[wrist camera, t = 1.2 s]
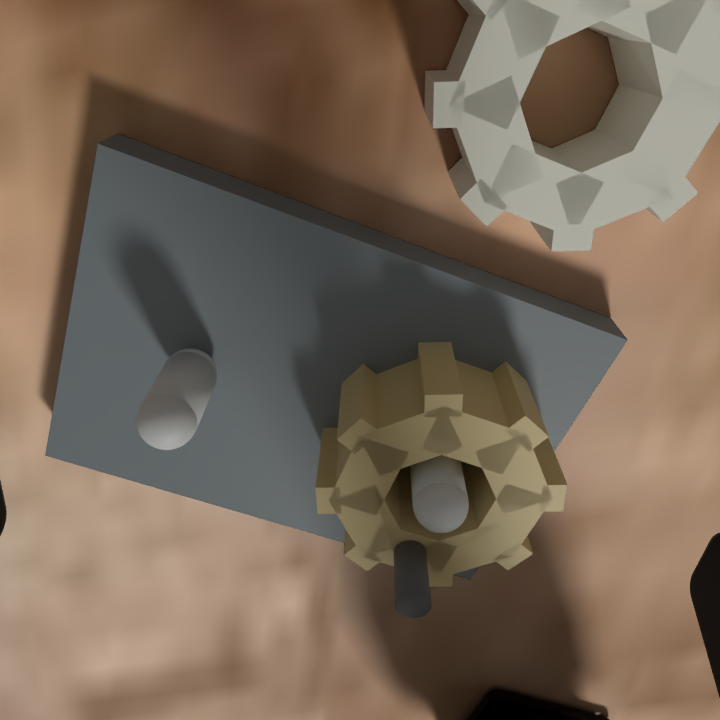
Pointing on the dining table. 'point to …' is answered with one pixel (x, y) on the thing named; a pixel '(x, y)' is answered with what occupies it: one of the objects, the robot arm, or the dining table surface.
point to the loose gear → (615, 129)
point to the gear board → (316, 372)
